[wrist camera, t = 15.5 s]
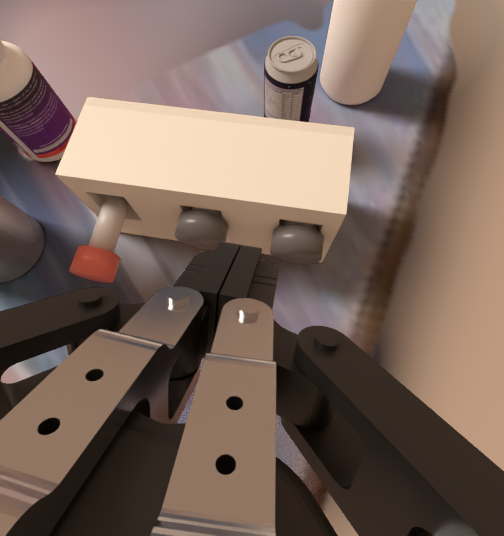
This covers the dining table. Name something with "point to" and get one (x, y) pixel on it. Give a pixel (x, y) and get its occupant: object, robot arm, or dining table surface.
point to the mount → (209, 169)
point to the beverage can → (290, 79)
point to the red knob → (102, 243)
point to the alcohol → (362, 47)
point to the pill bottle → (31, 108)
